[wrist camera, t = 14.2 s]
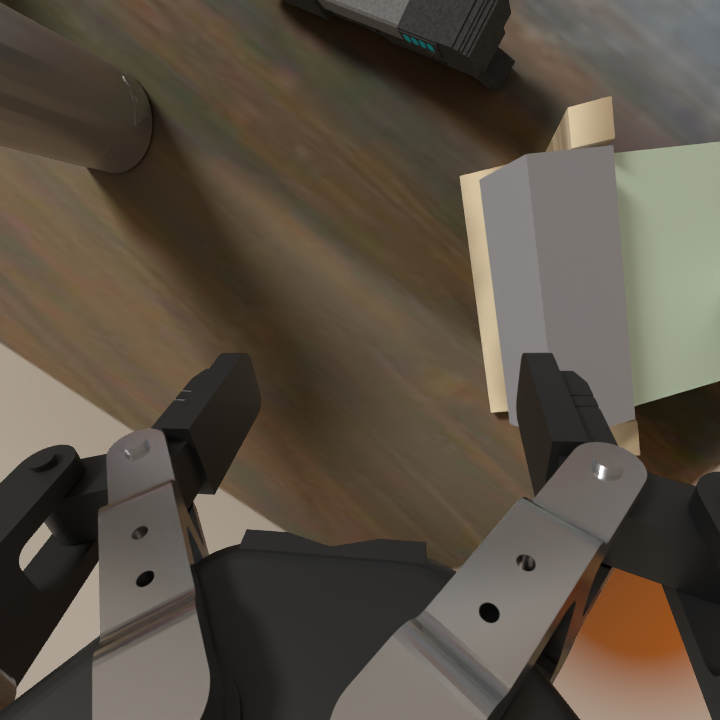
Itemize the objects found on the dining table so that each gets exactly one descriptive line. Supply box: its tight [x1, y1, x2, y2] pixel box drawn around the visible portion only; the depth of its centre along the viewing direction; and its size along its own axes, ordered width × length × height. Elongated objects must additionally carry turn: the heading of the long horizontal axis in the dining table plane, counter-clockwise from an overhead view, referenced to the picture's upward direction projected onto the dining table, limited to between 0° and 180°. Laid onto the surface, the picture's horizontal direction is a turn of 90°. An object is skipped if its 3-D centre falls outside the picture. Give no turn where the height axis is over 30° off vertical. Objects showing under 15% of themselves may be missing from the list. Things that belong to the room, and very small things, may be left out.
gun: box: [284, 0, 515, 90], centre depth 32 cm, size 4×20×10 cm, turn 61°
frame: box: [460, 96, 640, 456], centre depth 30 cm, size 8×19×11 cm, turn 10°
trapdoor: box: [479, 142, 720, 427], centre depth 25 cm, size 17×15×4 cm
